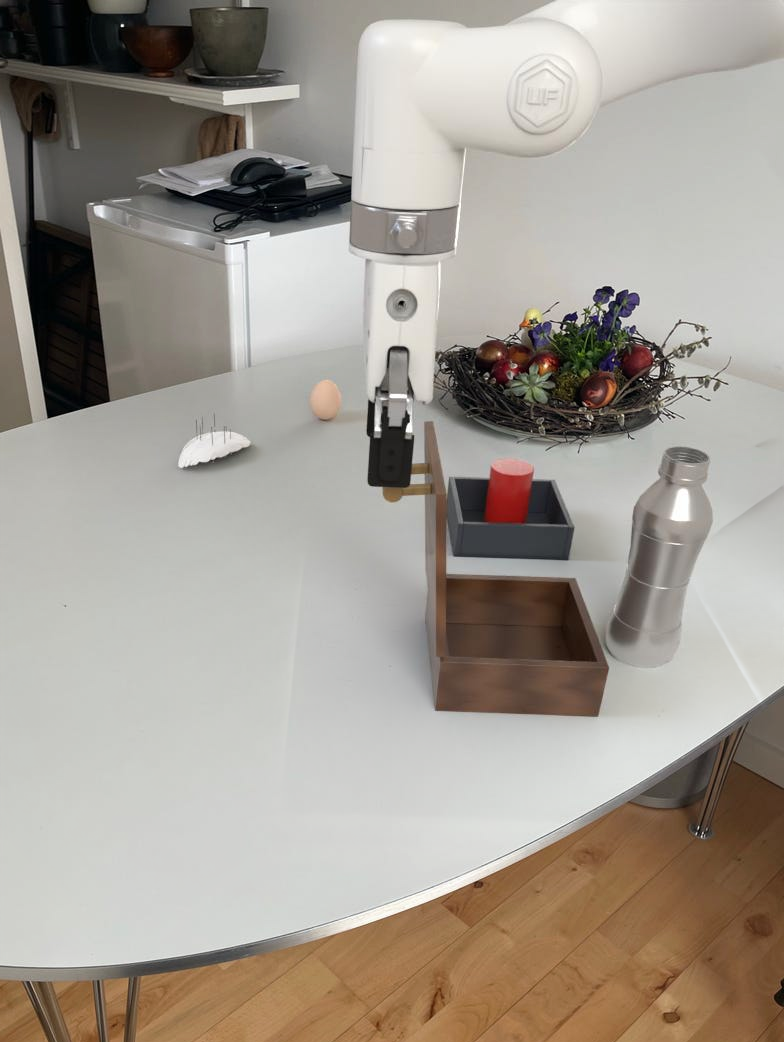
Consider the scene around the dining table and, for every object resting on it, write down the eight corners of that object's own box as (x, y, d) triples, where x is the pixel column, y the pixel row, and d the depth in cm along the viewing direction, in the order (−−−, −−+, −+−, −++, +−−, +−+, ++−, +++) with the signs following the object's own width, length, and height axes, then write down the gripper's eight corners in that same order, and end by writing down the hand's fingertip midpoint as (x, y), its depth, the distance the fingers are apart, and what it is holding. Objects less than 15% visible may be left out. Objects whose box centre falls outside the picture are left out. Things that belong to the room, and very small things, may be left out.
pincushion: (234, 439, 133) (233, 399, 130) (264, 451, 129) (264, 410, 126) (165, 463, 126) (162, 421, 123) (195, 477, 122) (193, 434, 119)
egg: (303, 418, 140) (303, 379, 137) (325, 411, 142) (326, 373, 139) (324, 427, 137) (325, 387, 134) (347, 419, 140) (348, 380, 136)
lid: (433, 420, 82) (379, 423, 83) (446, 493, 70) (383, 496, 71) (434, 568, 90) (384, 570, 91) (445, 656, 78) (388, 659, 79)
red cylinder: (520, 524, 111) (530, 458, 107) (526, 543, 107) (537, 476, 103) (480, 522, 111) (488, 457, 107) (485, 541, 107) (493, 474, 103)
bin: (549, 514, 114) (554, 479, 112) (567, 564, 104) (574, 527, 102) (445, 511, 115) (449, 476, 112) (454, 561, 105) (458, 523, 102)
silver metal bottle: (652, 635, 93) (702, 437, 82) (687, 675, 87) (746, 469, 76) (588, 640, 92) (630, 441, 81) (620, 682, 86) (669, 474, 75)
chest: (565, 629, 93) (575, 577, 90) (596, 724, 81) (609, 667, 78) (424, 625, 94) (429, 572, 91) (434, 718, 82) (440, 661, 78)
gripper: (469, 259, 60) (442, 509, 70) (447, 209, 75) (427, 422, 84) (348, 255, 60) (337, 505, 70) (350, 206, 75) (341, 418, 84)
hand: (386, 459), depth 77 cm, fingers open, 9 cm apart
